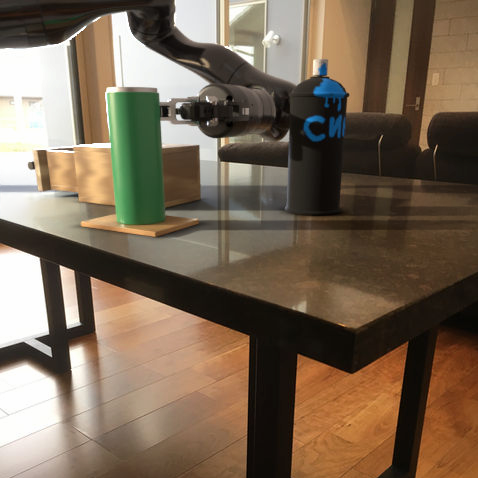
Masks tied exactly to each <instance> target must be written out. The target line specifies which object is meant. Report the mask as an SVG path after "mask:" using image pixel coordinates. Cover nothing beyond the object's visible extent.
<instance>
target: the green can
mask: <svg viewBox="0 0 478 478" xmlns="http://www.w3.org/2000/svg"><path fill="white" fill-rule="evenodd" d="M160 100H161V99H160V92H158V88H157V87H149V86H148V87H147V86H110V87H106V92H105V102H106V114H107V126H108V136H109V138H108V139H109V143H110V151H111V162H112V174H113V185H114V197H115V206H114V208H115V214H116V220H117V222H119V223H122V224H128V225H147V224H155V223H160V222H163V221H165V219H166V216H165V215H166V208H165V196H164V177H163V157H162V143H163V141H162V139H163V138H162V121H161V118H160V102H161V101H160Z"/></svg>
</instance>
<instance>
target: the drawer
mask: <svg viewBox="0 0 478 478" xmlns="http://www.w3.org/2000/svg"><path fill="white" fill-rule="evenodd" d="M73 146H74V145H72V146H61V147H60V146H58V147H45V148H32V156H33V160H31V161H28V162H27V168H28V169H29V170H31V171H35V177H36V184H37V191H38V192H48V191H61V192H69V193H71V192H72V193H78V186H77V177H76V168H75V159H74V150H73Z"/></svg>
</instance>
